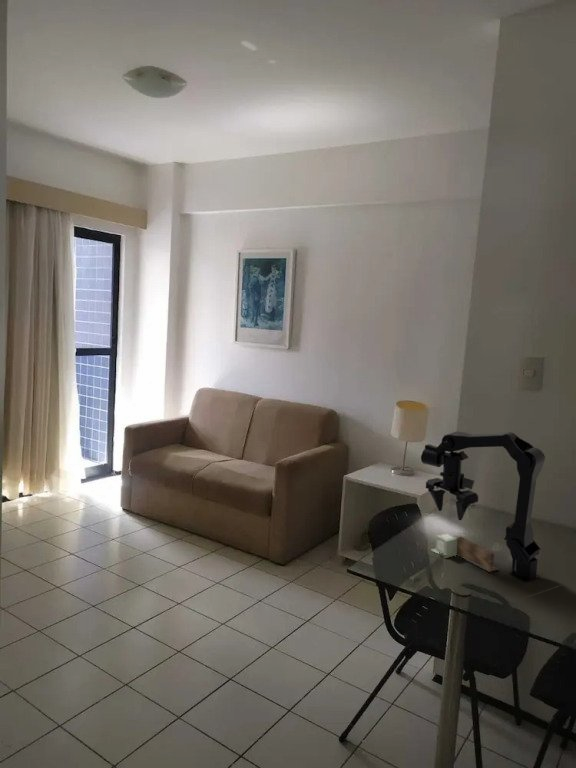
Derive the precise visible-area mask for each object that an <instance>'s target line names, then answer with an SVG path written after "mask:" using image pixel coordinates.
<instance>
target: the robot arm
mask: <svg viewBox="0 0 576 768" xmlns="http://www.w3.org/2000/svg"><path fill="white" fill-rule="evenodd" d="M493 447H494V448H495V447H496V448H497V447H498V448H499V447H501V448H504V449H505V450H506V451H507V453H508V454H509V456H510V458H511V459H513V460H514V461H515V462H516V471H517V473H518V477H519V481H518V490H517V497H516V506H515V514H514V521H513V522H512V523H511V524H509V525H507V526H506V528H505V537H504V541H505V543H506V544H505V545H506V547H508V549H509V553H510V556H511V559H512V560H511V561H512V562H511V571H509V572H508V574H509V575H511V576H512V577H515V578H516V579H519V580H520V581H522V582H524V583H528V582H531V581H534V580H535V581H536V580H537V579H540V578H541V576H540V575H539V574H537V573H538V572H537V571H538V560H539V559H537V558H536V557H537V556H539V554H540V553H541V551H542V549H541V547H540V546H539V545H538V543H537V542H536V541H535V540H534V529H533V526H532V524H531V521H532V514H533V507H534V500H535V491H536V485H537V484H536V483H537V478H538V477H539V475H540V473H541V472H542V469H543V466H544V463H545V460H546V459H545V458H546V456H545V453H544V452H543V451H542V450H541V449H539V448H538V447H534V445H532V444H531V443H529V442H528V441H527V440H524V439H523V438H521V437H519V436H518V435H517V434H516V433H514V432H512V431H510V432H509V431H508V432H501V433H483V434H482V433H481V434H480V433H478V434H472V433H467V432H463V431H453V432H450V433H447V434H444V435H443V436H442V439H441V443H439V444H438V446H436V445H432V444H430V443H427V444H425V445H424V449H423V451H422V453H421V455H420V460H421V461H420V462H421V463H422V464H423V465H428V466H431V467H436V468H441V466H443V468H442V469H443V470H442V471H441V472H439V473H440V474H439V476H441V477H442V478H439V477H436V478H435V477H434V478H430V479H427V481H426V482H425V489H427V491H428V492H429V494H430V495H431V497H432V499H433V501H434V503H435V506H436V508H437V509H438V511H439V512H441V511H442V510H443V505H444V504H443V503H444V495H445V493H446V492H447V493H450V494H452V495H453V496H456V497H455V499H456V501H455V507H456V514H457V519H458V521H462V520H463V518H464V515H465V514H466V511H467V510H468V508H469V507H470V505H472V504H475V503H478V502H479V494H478V493H476V492H475V491H473V490H472V489H473V487H474V483H475V480H474V479H471V478H468V477H466V476H465V474H464V473H462V462H463V461H465V460H467V459H469V456H468V454H467V453H465V451H461V450H465V449H468V448H469V449H470V448H493ZM458 451H460V452H458ZM465 489H466V490H465ZM467 489H468V490H467ZM462 490H464V491H462ZM471 490H472V491H471Z"/></svg>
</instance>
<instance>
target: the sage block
mask: <svg viewBox="0 0 576 768" xmlns="http://www.w3.org/2000/svg"><path fill="white" fill-rule="evenodd" d="M458 538H459V537H456V536H455V535H452V534H451V533H449V532H446V533H442V534H438V535H435V539H436V540H435V548H436V551H438V552H440V553H443V554H444V555H446V556H447V555H451V554H455V553H457V543H458Z"/></svg>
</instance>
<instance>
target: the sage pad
mask: <svg viewBox="0 0 576 768" xmlns="http://www.w3.org/2000/svg"><path fill="white" fill-rule="evenodd" d="M431 552H433V553H434V552H435V553H434V554H436V553H438V554H439V552H438V551H436V547H435V548H431ZM438 554H437V555H438ZM455 554H456V553H455ZM451 555H454V554H451Z"/></svg>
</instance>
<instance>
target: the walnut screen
mask: <svg viewBox="0 0 576 768" xmlns="http://www.w3.org/2000/svg"><path fill="white" fill-rule="evenodd" d="M457 538H458V543H457V553H456V554H457V555H459V556H462V557H465V558H467V559H469V560H471V561H474V562H475V563H477V564H479V565H481V566H482V567H484V568H485V569H487V570H488V571H495V570H498V571H499V567H496V566H494V561H495V553H494V552H493V551H492V552H491V551H490V550H488V549H486V548H484V547H482V546H481V545H478V544H476V543H474V542H472V541H470V540H468V539H466V538H464V537H462V536H459V537H457ZM459 556H458V557H459ZM495 572H496V571H495Z"/></svg>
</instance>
